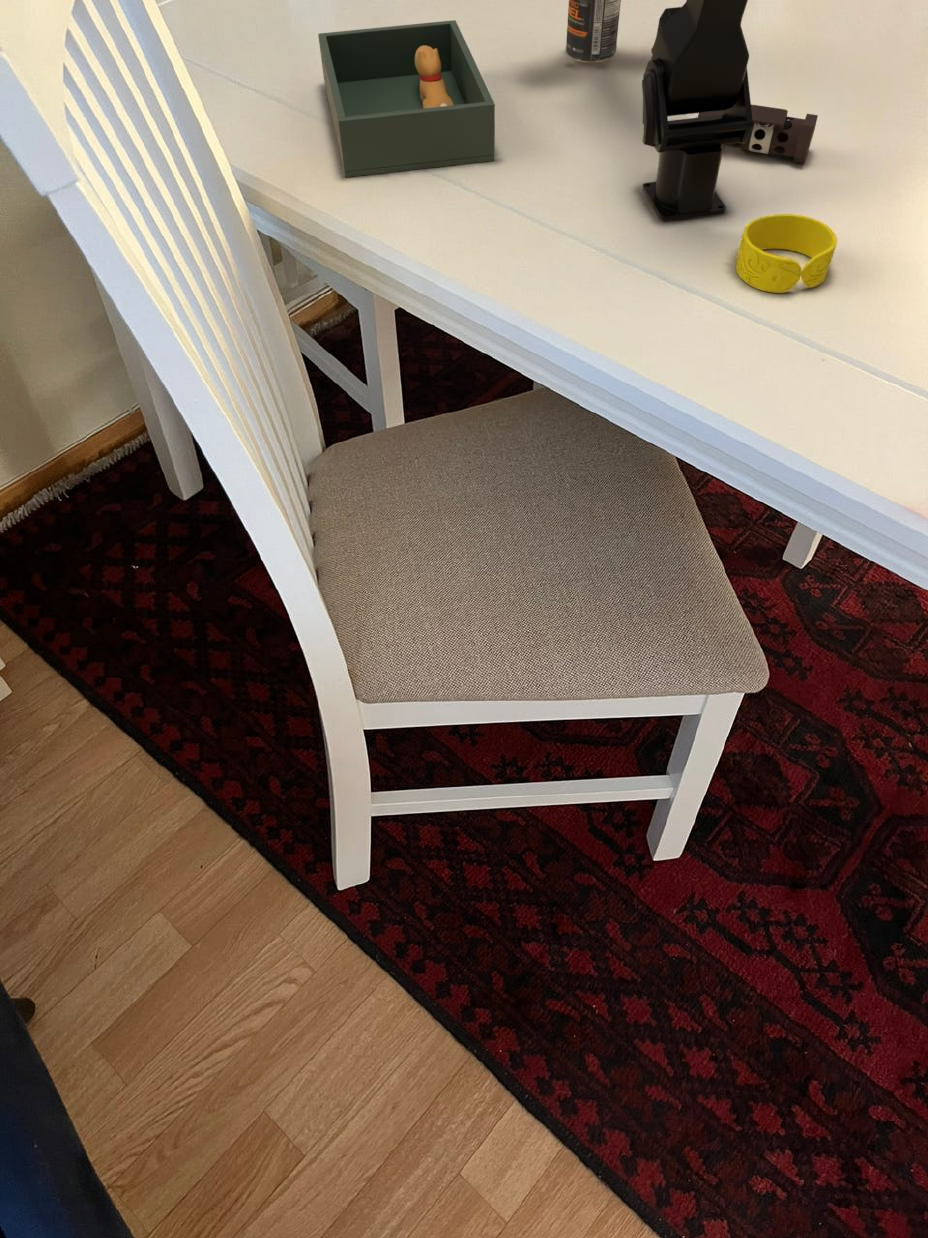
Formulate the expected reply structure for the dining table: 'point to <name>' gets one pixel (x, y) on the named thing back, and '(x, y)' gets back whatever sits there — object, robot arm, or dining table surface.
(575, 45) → the pill bottle
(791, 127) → the brown bracket with holes
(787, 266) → the bracelet
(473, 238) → the dining table surface
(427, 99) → the toy
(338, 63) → the green storage tray
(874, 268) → the dining table surface
